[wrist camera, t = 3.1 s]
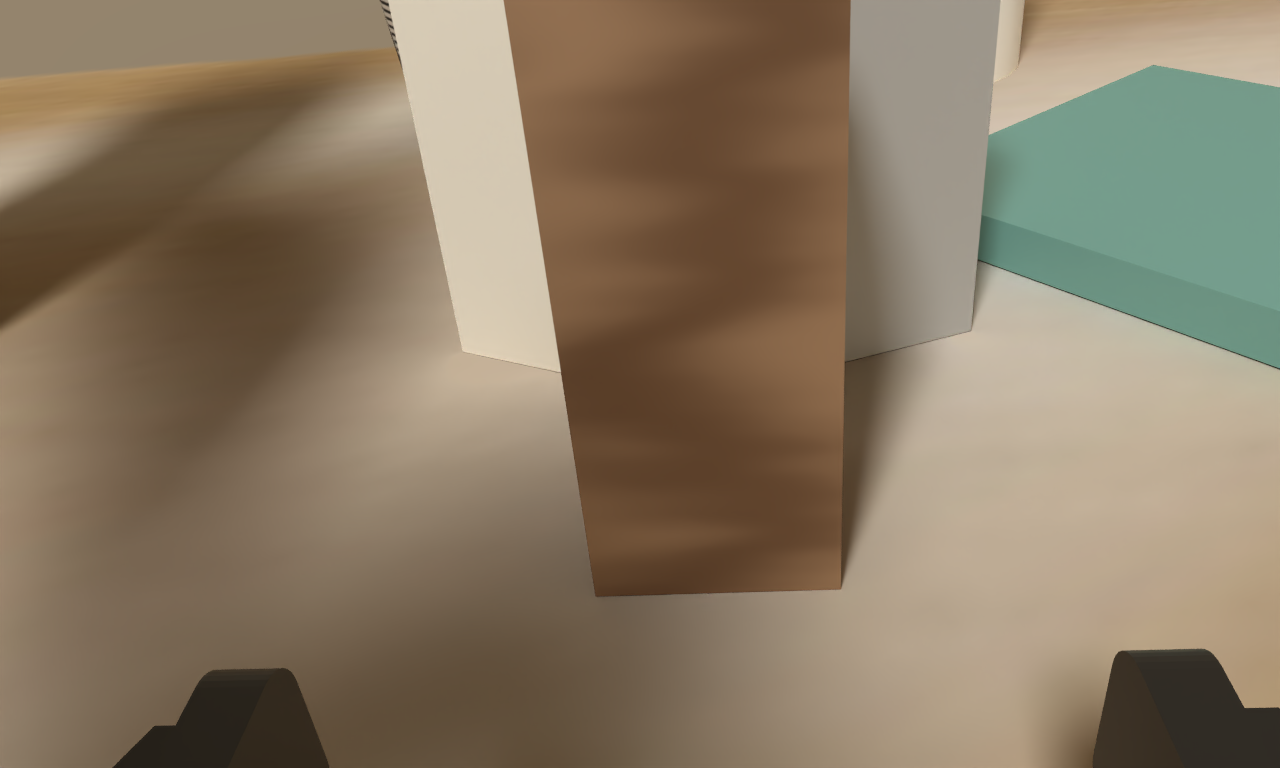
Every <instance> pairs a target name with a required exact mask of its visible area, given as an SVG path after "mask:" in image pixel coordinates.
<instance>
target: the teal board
mask: <svg viewBox="0 0 1280 768" xmlns="http://www.w3.org/2000/svg"><path fill="white" fill-rule="evenodd" d="M977 259H978V260H981V261H984V262H987V263H989V264H992V265H995V266H998V267H1000V268H1003V269H1006V270H1009V271H1011V272H1014V273H1017V274H1020V275H1023V276H1025V277H1028V278H1031V279H1034V280H1036V281H1039V282H1042V283H1045V284H1047V285H1050V286H1053V287H1056V288H1058V289H1061V290H1064V291H1067V292H1070V293H1072V294H1075V295H1078V296H1081V297H1083V298H1086V299H1089V300H1092V301H1094V302H1097V303H1100V304H1103V305H1106V306H1108V307H1111V308H1114V309H1117V310H1119V311H1122V312H1125V313H1128V314H1130V315H1133V316H1136V317H1139V318H1141V319H1144V320H1147V321H1150V322H1153V323H1155V324H1158V325H1161V326H1164V327H1166V328H1169V329H1172V330H1175V331H1177V332H1180V333H1183V334H1186V335H1188V336H1191V337H1194V338H1197V339H1200V340H1202V341H1205V342H1208V343H1211V344H1213V345H1216V346H1219V347H1222V348H1224V349H1227V350H1230V351H1233V352H1236V353H1238V354H1241V355H1244V356H1247V357H1249V358H1252V359H1255V360H1258V361H1260V362H1263V363H1266V364H1269V365H1271V366H1274V367H1277V368H1280V88H1279V87H1274V86H1268V85H1263V84H1257V83H1251V82H1246V81H1240V80H1234V79H1229V78H1223V77H1218V76H1212V75H1206V74H1201V73H1195V72H1190V71H1184V70H1178V69H1173V68H1167V67H1161V66H1156V65H1152V66H1150V67H1148V68H1145V69H1143V70H1141V71H1138V72H1136V73H1134V74H1131V75H1129V76H1127V77H1124V78H1122V79H1120V80H1117V81H1115V82H1112V83H1110V84H1108V85H1105V86H1103V87H1101V88H1098V89H1096V90H1094V91H1091V92H1089V93H1087V94H1084V95H1082V96H1080V97H1077V98H1075V99H1073V100H1070V101H1068V102H1066V103H1063V104H1061V105H1059V106H1056V107H1054V108H1052V109H1049V110H1047V111H1045V112H1042V113H1040V114H1038V115H1035V116H1033V117H1031V118H1028V119H1026V120H1023V121H1021V122H1019V123H1016V124H1014V125H1012V126H1009V127H1007V128H1005V129H1002V130H1000V131H998V132H995V133H993V134H991V135H989V136H988V147H987V158H986V169H985V180H984V191H983V202H982V214H981V225H980V236H979V247H978V258H977Z"/></svg>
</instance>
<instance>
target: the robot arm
mask: <svg viewBox="0 0 1280 768" xmlns="http://www.w3.org/2000/svg"><path fill="white" fill-rule="evenodd" d="M113 768H329V765H328V761H327V759H326V756H325V753H324V751H323V748H322V746H321V743H320V740H319V738H318V735H317V733H316V730H315V727H314V725H313V722H312V720H311V717H310V715H309V712H308V709H307V707H306V704H305V702H304V699H303V696H302V694H301V691H300V689H299V686H298V683H297V681H296V679H295V677H294V675H293V674H292V673H291V672H290V671H289V670H288V669H285V668H273V669H232V670H212V671H210V672H208V673H207V674H206V675H204V676H203V678H202V679H201V680H200V681H199V683H198V684H197V686H196V688H195V690H194V691H193V693H192V695H191V697H190V699H189V701H188V703H187V705H186V707H185V709H184V710H183V712H182V714H181V716H180V718H179V720H178V722H177V724H176V726H154V727H153V728H152V729H151V730H150V731H149V732H148V733H147V734H146V735H145V736H144V737H143V738H142V739H141V740H140V741H139V742H138V743H137V744H136V745H135V746H134V747H133V748H132V749H131V750H130V751H129V752H128V753H127V754H126V755H125V756H124V757H123V758H122V759H121V760H120V761H119V762H118V763H117V764H116V765H115V766H114V767H113ZM1093 768H1280V708H1244V706H1243V705H1242V703H1241V701H1240V699H1239V697H1238V695H1237V693H1236V692H1235V690H1234V688H1233V686H1232V684H1231V682H1230V681H1229V679H1228V677H1227V675H1226V673H1225V671H1224V670H1223V668H1222V666H1221V664H1220V663H1219V661H1218V660H1217V659H1216V657H1215V656H1214V655H1213V654H1212V653H1211V652H1209V651H1208V650H1206V649H1172V650H1130V651H1120V652H1118V653H1117V655H1116V656H1115V658H1114V661H1113V664H1112V669H1111V673H1110V678H1109V683H1108V688H1107V692H1106V697H1105V702H1104V707H1103V711H1102V716H1101V721H1100V726H1099V730H1098V735H1097V740H1096V745H1095V749H1094V755H1093Z"/></svg>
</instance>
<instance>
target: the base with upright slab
mask: <svg viewBox="0 0 1280 768" xmlns="http://www.w3.org/2000/svg"><path fill="white" fill-rule="evenodd" d="M1024 3H1025V0H1001V2H1000V13H999V24H998V35H997V47H996V58H995V69H994V80H993V83H994V82H996V81H998V80H1000V79H1003V78H1005V77H1007V76H1009V75H1010V74H1012V73H1013V72H1014V71H1015V70H1016V69H1017V68H1018V62H1019V53H1020V43H1021V33H1022V23H1023V13H1024Z"/></svg>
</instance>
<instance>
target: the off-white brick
mask: <svg viewBox="0 0 1280 768" xmlns="http://www.w3.org/2000/svg"><path fill="white" fill-rule="evenodd" d="M388 2H389V7H390V12H391V17H392V21H393V26H394V31H395V35H396V40H397V45H398V49H399V54H400V59H401V64H402V68H403V73H404V78H405V82H406V87H407V92H408V97H409V101H410V106H411V111H412V115H413V120H414V125H415V129H416V134H417V139H418V144H419V148H420V153H421V158H422V162H423V167H424V172H425V176H426V181H427V186H428V191H429V195H430V200H431V205H432V209H433V214H434V219H435V224H436V228H437V233H438V238H439V242H440V247H441V252H442V256H443V261H444V266H445V271H446V275H447V280H448V285H449V289H450V294H451V299H452V304H453V308H454V313H455V318H456V322H457V327H458V332H459V336H460V341H461V346H462V351H463V352H466V353H471V354H475V355H480V356H485V357H489V358H494V359H499V360H504V361H508V362H513V363H518V364H523V365H527V366H532V367H537V368H541V369H546V370H551V371H556V372H560V373H561V369H560V363H559V356H558V350H557V343H556V337H555V330H554V324H553V317H552V311H551V304H550V298H549V291H548V285H547V278H546V272H545V265H544V259H543V252H542V246H541V240H540V233H539V227H538V220H537V214H536V207H535V201H534V194H533V188H532V181H531V175H530V168H529V162H528V155H527V149H526V142H525V136H524V130H523V123H522V117H521V110H520V104H519V97H518V91H517V84H516V78H515V71H514V65H513V58H512V52H511V45H510V39H509V32H508V26H507V20H506V13H505V7H504V0H388Z"/></svg>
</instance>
